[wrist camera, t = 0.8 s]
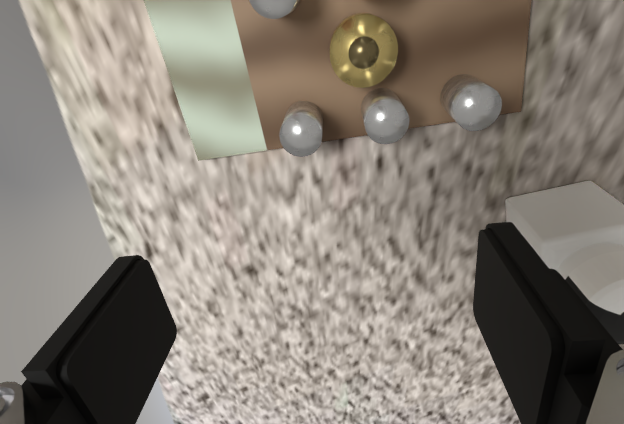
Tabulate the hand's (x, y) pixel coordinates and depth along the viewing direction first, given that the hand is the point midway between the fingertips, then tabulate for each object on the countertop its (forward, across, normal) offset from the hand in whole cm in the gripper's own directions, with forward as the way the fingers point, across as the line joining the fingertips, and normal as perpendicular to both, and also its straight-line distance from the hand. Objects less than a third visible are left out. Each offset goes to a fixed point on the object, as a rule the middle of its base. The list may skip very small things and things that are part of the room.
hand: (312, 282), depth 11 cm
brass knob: (+21, -3, -4) cm, 22 cm away
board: (+22, -1, -4) cm, 23 cm away
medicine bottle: (+23, -18, +13) cm, 32 cm away
